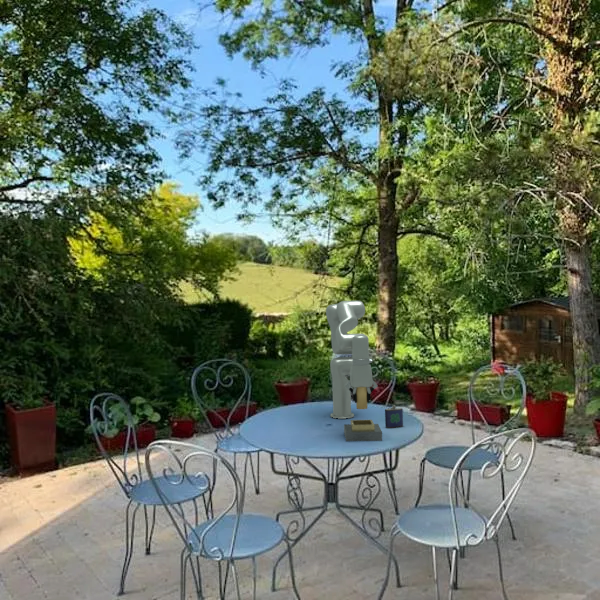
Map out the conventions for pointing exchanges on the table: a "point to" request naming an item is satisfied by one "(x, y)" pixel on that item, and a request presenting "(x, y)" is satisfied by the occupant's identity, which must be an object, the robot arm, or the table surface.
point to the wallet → (393, 417)
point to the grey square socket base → (362, 431)
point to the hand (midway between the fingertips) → (361, 401)
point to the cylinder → (361, 398)
